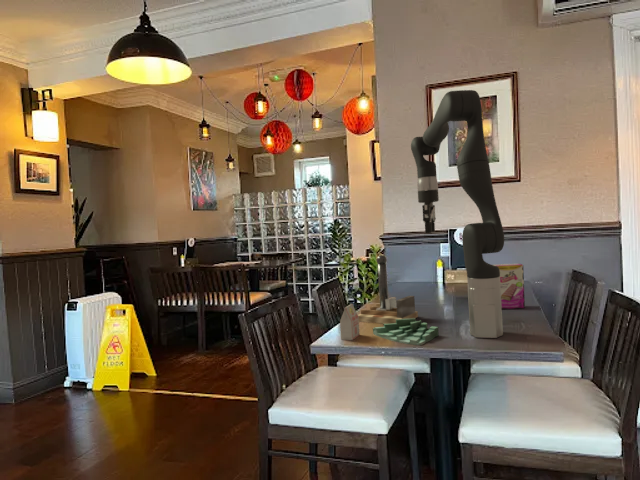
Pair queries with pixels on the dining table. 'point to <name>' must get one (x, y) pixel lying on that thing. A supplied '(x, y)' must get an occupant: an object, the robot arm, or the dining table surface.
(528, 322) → the dining table surface
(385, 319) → the press bench
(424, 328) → the money
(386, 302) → the handle
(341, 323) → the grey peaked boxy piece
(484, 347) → the dining table surface
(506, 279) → the candy bar box
